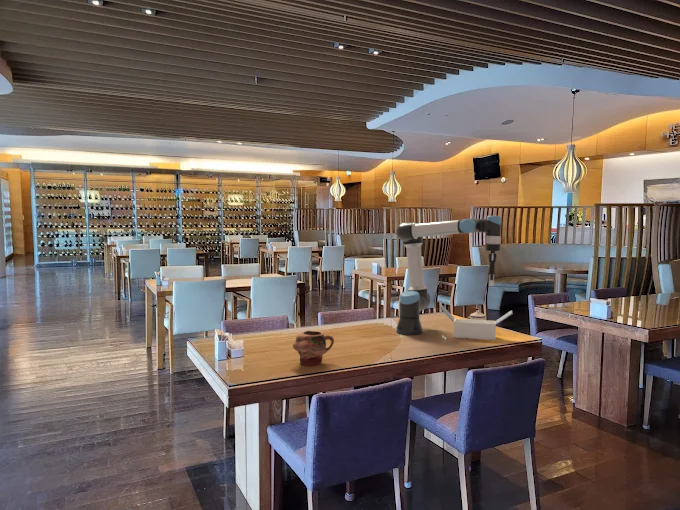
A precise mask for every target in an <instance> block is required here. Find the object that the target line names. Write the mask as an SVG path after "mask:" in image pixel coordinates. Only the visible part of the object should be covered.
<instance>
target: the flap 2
mask: <svg viewBox="0 0 680 510" xmlns="http://www.w3.org/2000/svg"><path fill="white" fill-rule="evenodd" d="M513 314H514V313H513V310H510V311H508V312H506V313H505V314H504V315H502V316H501V317H499V318H498V319H496V320H495V321H496V325H498V324H499V323H501V322H502V321H504V320H506V319H507V318H509V317H510V316H512V315H513Z"/></svg>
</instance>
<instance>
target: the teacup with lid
mask: <svg viewBox="0 0 680 510" xmlns="http://www.w3.org/2000/svg"><path fill="white" fill-rule="evenodd" d="M486 316H487V315H486V314H484V313H482V312H481V311H480V310H476V311H475V312H473V313H470V315H469V316H467V318H466V319H471V320H486Z"/></svg>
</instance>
